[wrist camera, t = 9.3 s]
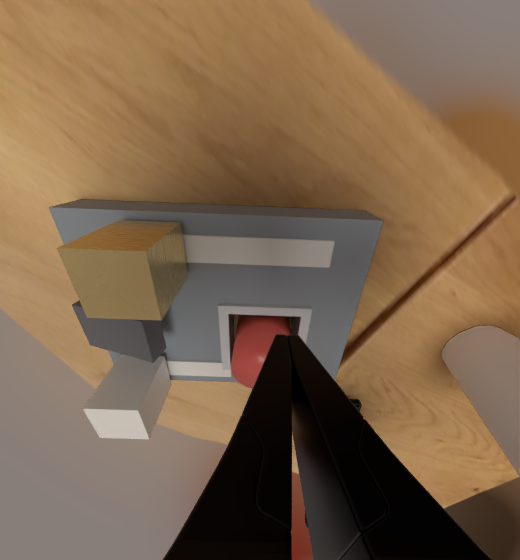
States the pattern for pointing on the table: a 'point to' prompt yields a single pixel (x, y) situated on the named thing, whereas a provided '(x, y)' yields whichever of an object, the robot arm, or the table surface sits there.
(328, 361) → the panel
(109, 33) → the table surface
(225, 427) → the table surface
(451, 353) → the foam cup
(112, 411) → the ivory slider
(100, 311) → the brass slider
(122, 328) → the block
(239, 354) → the red button
